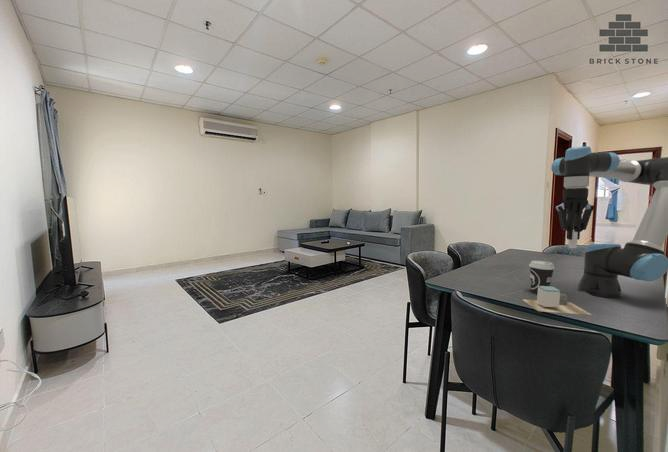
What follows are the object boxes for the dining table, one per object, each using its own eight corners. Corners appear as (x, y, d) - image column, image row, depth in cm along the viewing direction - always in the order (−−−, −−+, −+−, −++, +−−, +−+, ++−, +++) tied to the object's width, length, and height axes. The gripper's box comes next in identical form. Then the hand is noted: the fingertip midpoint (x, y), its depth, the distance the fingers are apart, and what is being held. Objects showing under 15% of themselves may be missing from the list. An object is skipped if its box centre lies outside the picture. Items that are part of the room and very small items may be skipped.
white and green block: (551, 302, 116) (552, 286, 115) (558, 307, 111) (560, 290, 110) (536, 301, 117) (538, 285, 116) (543, 306, 112) (545, 289, 111)
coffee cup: (545, 300, 125) (547, 265, 124) (522, 293, 134) (524, 261, 132) (557, 296, 129) (559, 263, 128) (534, 290, 138) (536, 259, 136)
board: (570, 305, 119) (570, 302, 119) (591, 317, 106) (592, 314, 106) (522, 302, 122) (522, 299, 122) (537, 314, 110) (537, 311, 110)
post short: (562, 303, 118) (563, 293, 118) (566, 305, 116) (567, 295, 115) (555, 302, 119) (556, 293, 118) (559, 305, 116) (560, 295, 116)
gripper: (588, 187, 115) (584, 246, 117) (551, 188, 117) (548, 246, 120) (602, 187, 108) (598, 249, 110) (562, 188, 110) (559, 249, 112)
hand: (572, 247), depth 115 cm, fingers closed
